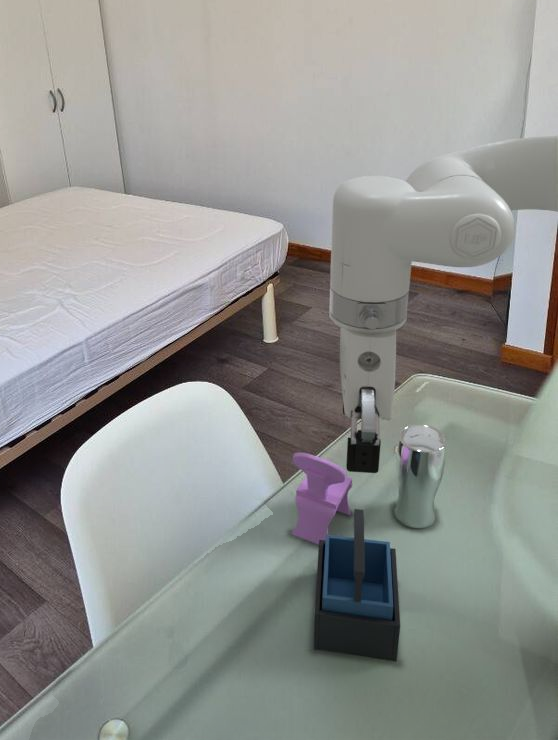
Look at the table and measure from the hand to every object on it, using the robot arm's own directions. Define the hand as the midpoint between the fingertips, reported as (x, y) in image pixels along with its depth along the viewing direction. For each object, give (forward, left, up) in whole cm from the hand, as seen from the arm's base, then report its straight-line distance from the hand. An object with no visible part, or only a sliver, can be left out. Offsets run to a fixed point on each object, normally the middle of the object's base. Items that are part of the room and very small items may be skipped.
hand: (359, 440), depth 76 cm
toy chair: (+4, -19, -32) cm, 37 cm away
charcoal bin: (-1, -3, -32) cm, 32 cm away
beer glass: (-10, -23, -32) cm, 41 cm away
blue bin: (-1, -3, -31) cm, 31 cm away
